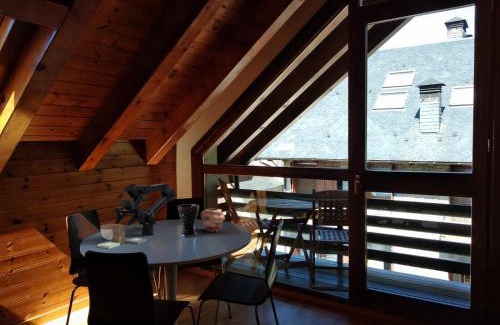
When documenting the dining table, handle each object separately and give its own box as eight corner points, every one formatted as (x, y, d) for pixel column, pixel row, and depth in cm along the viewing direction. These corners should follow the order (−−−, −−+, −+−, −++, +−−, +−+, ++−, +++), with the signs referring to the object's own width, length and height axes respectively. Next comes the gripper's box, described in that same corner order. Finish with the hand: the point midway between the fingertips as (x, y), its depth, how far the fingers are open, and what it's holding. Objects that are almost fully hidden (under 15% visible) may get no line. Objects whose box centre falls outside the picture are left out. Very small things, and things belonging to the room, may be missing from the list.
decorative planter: (193, 230, 251) (193, 208, 250) (206, 227, 261) (205, 206, 261) (218, 234, 240) (218, 211, 239) (230, 230, 250) (230, 208, 250)
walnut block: (118, 241, 222) (117, 224, 221) (124, 242, 219) (124, 225, 219) (112, 243, 218) (112, 225, 218) (119, 244, 216) (119, 226, 216)
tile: (135, 239, 227) (135, 237, 227) (147, 241, 223) (147, 238, 223) (125, 242, 220) (125, 240, 220) (137, 244, 216) (137, 241, 216)
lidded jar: (113, 241, 223) (113, 224, 223) (96, 240, 225) (96, 224, 225) (123, 236, 234) (123, 221, 233) (107, 236, 236) (106, 220, 235)
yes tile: (107, 243, 217) (107, 241, 217) (119, 245, 213) (119, 242, 213) (97, 246, 211) (97, 244, 211) (109, 248, 207) (109, 246, 207)
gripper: (116, 193, 229) (101, 215, 220) (140, 194, 221) (126, 217, 211) (126, 205, 236) (112, 226, 227) (150, 206, 228) (137, 229, 219)
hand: (121, 224), depth 221 cm, fingers open, 9 cm apart
